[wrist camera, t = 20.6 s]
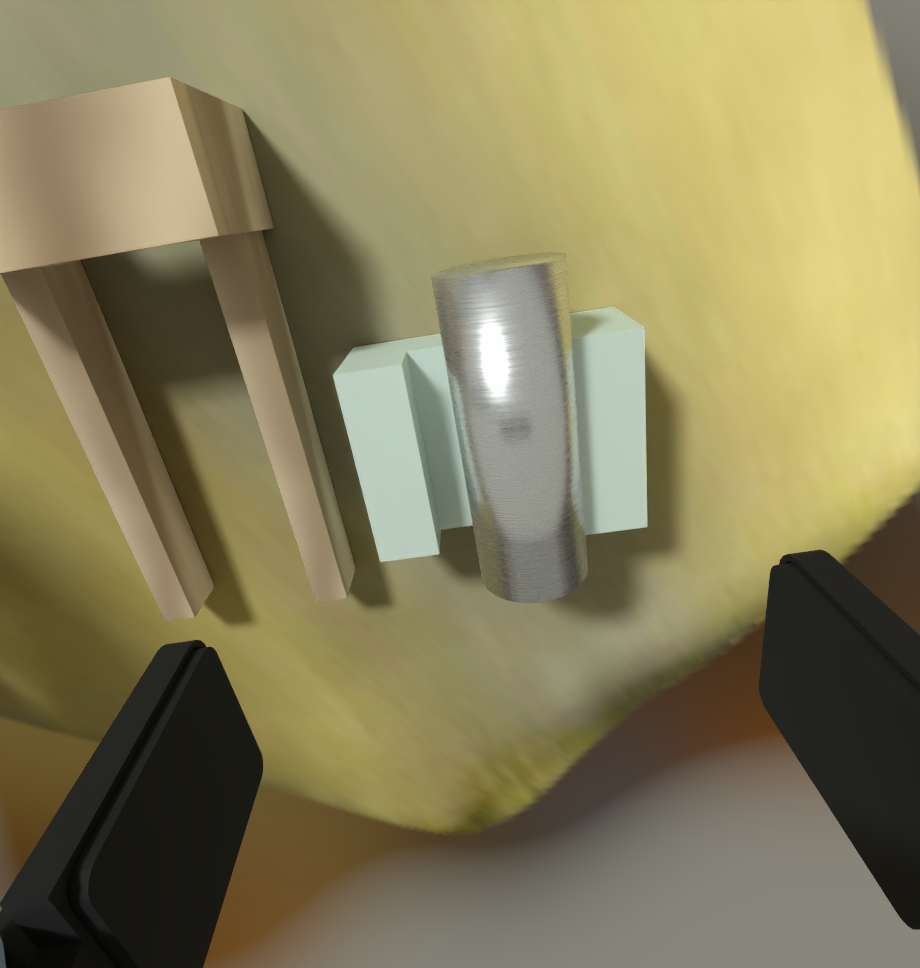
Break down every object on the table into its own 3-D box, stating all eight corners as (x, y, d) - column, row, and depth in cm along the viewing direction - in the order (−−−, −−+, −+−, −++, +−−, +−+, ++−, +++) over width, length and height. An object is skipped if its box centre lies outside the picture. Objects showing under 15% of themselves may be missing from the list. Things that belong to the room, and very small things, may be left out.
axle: (542, 530, 27) (611, 570, 23) (461, 568, 25) (522, 618, 21) (513, 253, 21) (595, 251, 18) (408, 277, 20) (476, 279, 16)
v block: (391, 510, 28) (380, 561, 24) (353, 347, 25) (332, 375, 21) (619, 479, 27) (647, 527, 23) (613, 306, 24) (644, 327, 20)
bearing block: (177, 591, 30) (118, 672, 25) (-17, 157, 22) (-169, 141, 16) (365, 566, 30) (344, 644, 24) (242, 109, 21) (169, 77, 16)
